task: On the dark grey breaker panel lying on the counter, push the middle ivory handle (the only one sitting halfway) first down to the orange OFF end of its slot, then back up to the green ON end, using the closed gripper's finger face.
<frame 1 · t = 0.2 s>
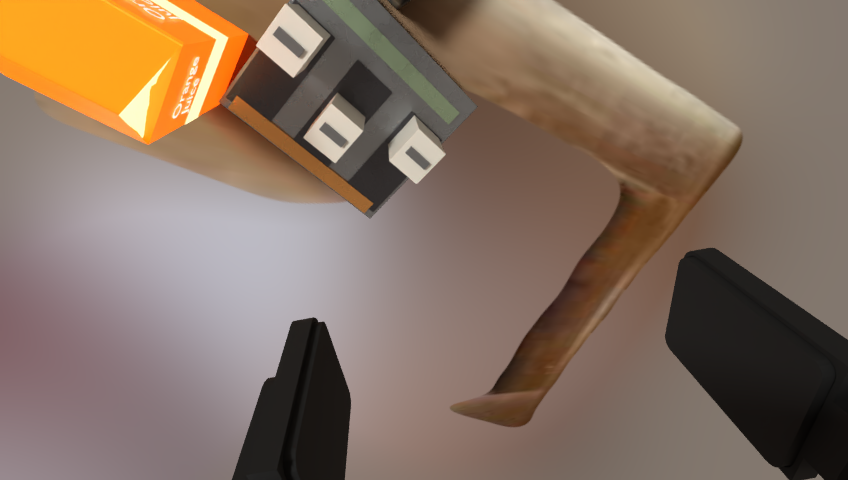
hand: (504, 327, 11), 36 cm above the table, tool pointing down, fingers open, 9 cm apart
breaker 1: (415, 149, 40), point 5 cm above the table, slide at 7.0 cm
breaker mid: (336, 127, 38), point 5 cm above the table, slide at 3.5 cm
orange juice: (189, 44, 38), on the table
panel: (353, 100, 42), on the table
breaker 2: (295, 40, 34), point 5 cm above the table, slide at 7.0 cm
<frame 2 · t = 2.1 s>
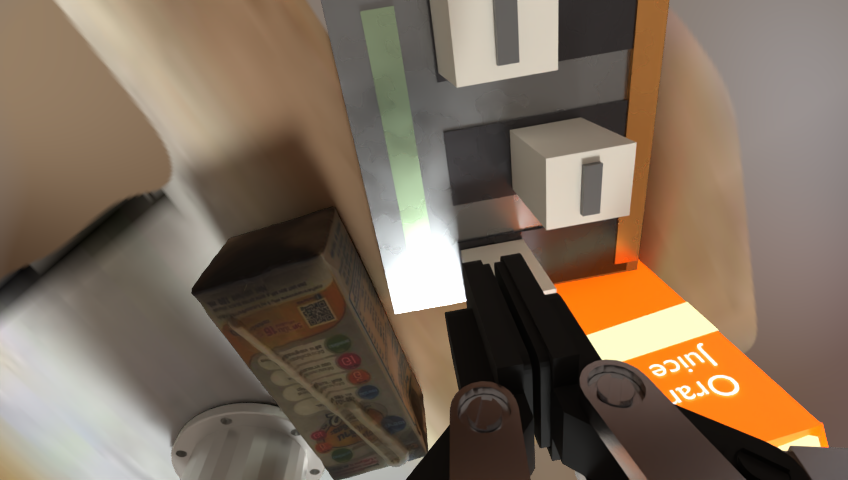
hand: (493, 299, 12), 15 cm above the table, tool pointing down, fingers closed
breaker 1: (488, 28, 17), point 5 cm above the table, slide at 7.0 cm
beverage carton: (338, 323, 31), on the table
breaker mid: (566, 170, 21), point 5 cm above the table, slide at 3.5 cm
orange juice: (590, 311, 32), on the table
panel: (500, 149, 25), on the table
breaker 2: (505, 293, 24), point 5 cm above the table, slide at 7.0 cm
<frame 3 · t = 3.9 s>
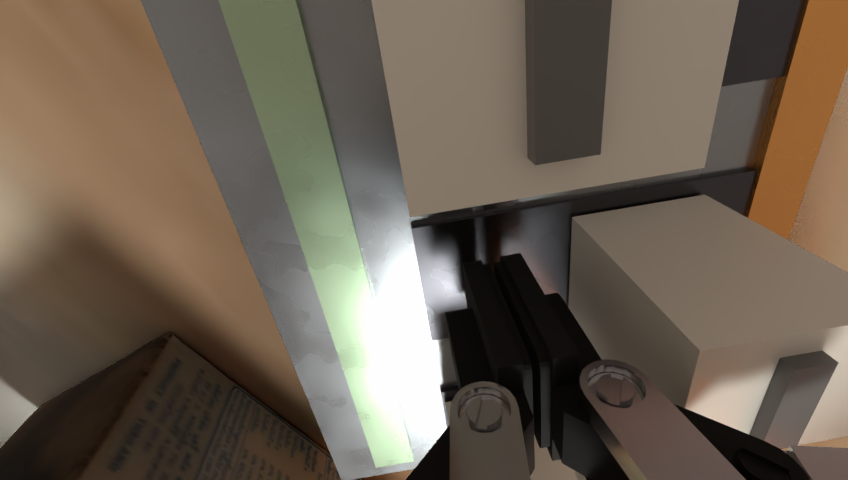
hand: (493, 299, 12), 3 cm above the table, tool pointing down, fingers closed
breaker 1: (501, 39, 7), point 5 cm above the table, slide at 7.0 cm
beverage carton: (267, 468, 21), on the table
breaker mid: (693, 314, 10), point 5 cm above the table, slide at 2.4 cm, touching gripper
panel: (514, 237, 15), on the table
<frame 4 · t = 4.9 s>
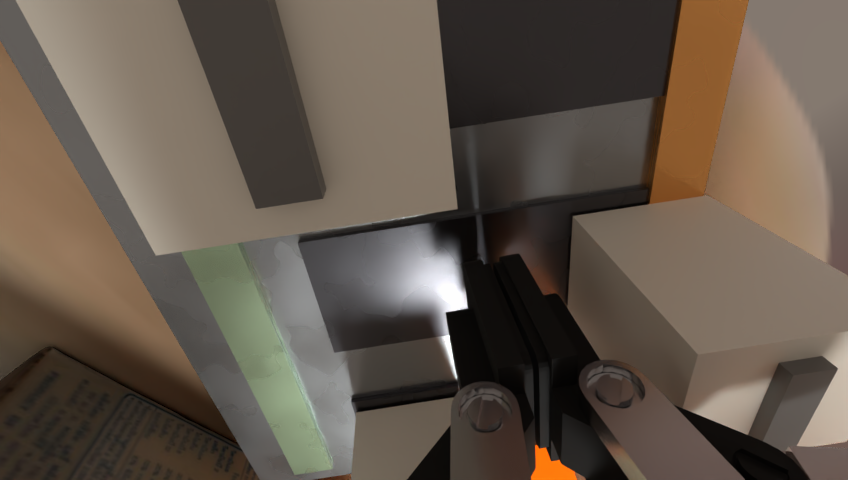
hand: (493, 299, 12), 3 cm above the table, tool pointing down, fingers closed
breaker 1: (304, 66, 7), point 5 cm above the table, slide at 7.0 cm
beverage carton: (202, 471, 21), on the table
breaker mid: (693, 316, 10), point 5 cm above the table, slide at -0.9 cm, touching gripper
orange juice: (576, 453, 22), on the table
panel: (424, 249, 15), on the table
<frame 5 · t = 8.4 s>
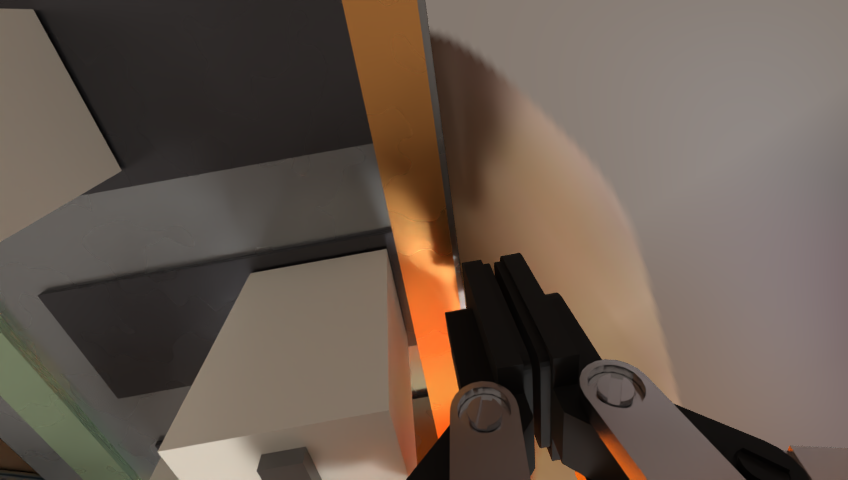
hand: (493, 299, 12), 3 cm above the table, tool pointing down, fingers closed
breaker mid: (321, 381, 10), point 5 cm above the table, slide at 1.1 cm, touching gripper
panel: (219, 289, 15), on the table
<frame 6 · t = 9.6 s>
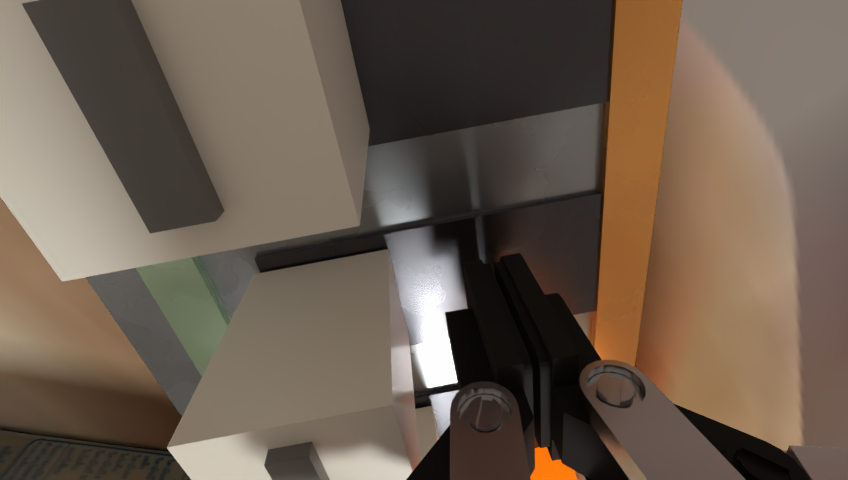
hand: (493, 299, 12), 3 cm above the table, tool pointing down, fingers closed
breaker 1: (225, 87, 7), point 5 cm above the table, slide at 7.0 cm
breaker mid: (325, 379, 10), point 5 cm above the table, slide at 7.3 cm, touching gripper
orange juice: (560, 459, 22), on the table
panel: (389, 260, 15), on the table
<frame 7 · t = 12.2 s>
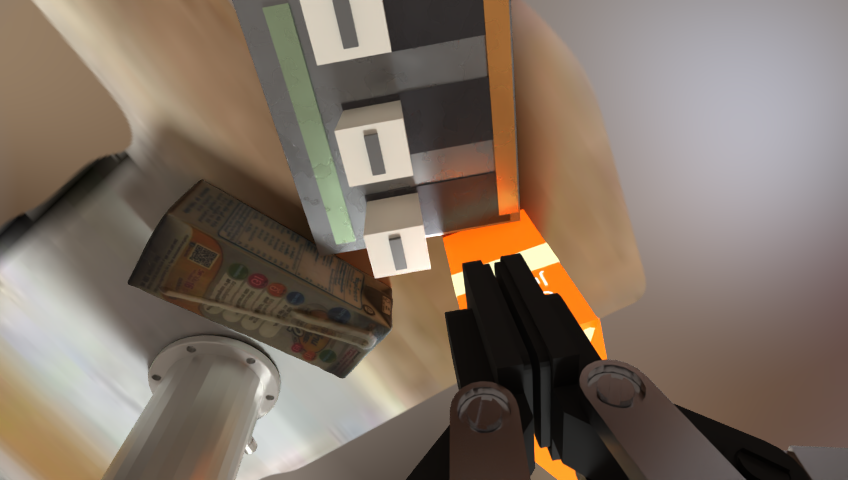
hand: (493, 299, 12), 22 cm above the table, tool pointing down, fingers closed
breaker 1: (350, 20, 23), point 5 cm above the table, slide at 7.0 cm
beverage carton: (285, 264, 37), on the table
breaker mid: (376, 141, 26), point 5 cm above the table, slide at 7.0 cm
orange juice: (494, 260, 38), on the table
panel: (397, 119, 31), on the table
breaker 2: (397, 234, 30), point 5 cm above the table, slide at 7.0 cm
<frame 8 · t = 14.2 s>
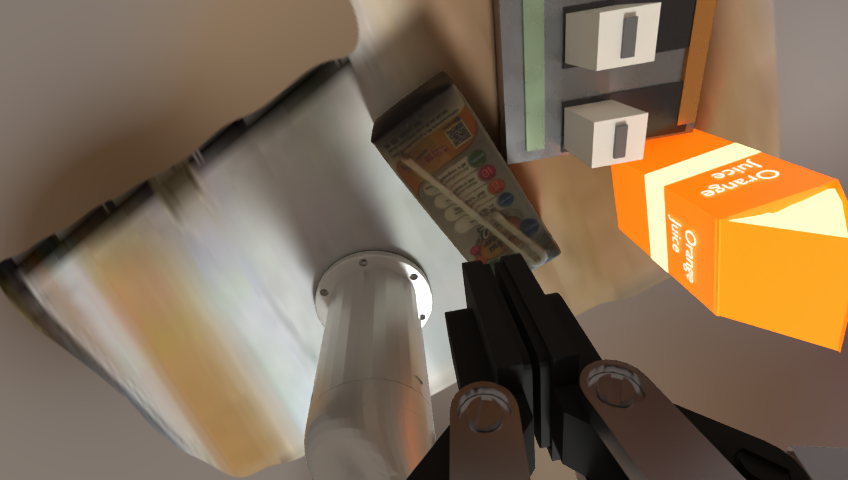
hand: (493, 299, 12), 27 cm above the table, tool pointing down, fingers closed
beverage carton: (463, 177, 39), on the table
breaker mid: (608, 36, 29), point 5 cm above the table, slide at 7.0 cm
orange juice: (650, 179, 41), on the table
panel: (596, 30, 34), on the table
breaker 2: (602, 132, 32), point 5 cm above the table, slide at 7.0 cm
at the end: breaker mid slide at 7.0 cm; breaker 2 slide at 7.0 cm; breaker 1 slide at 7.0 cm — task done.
